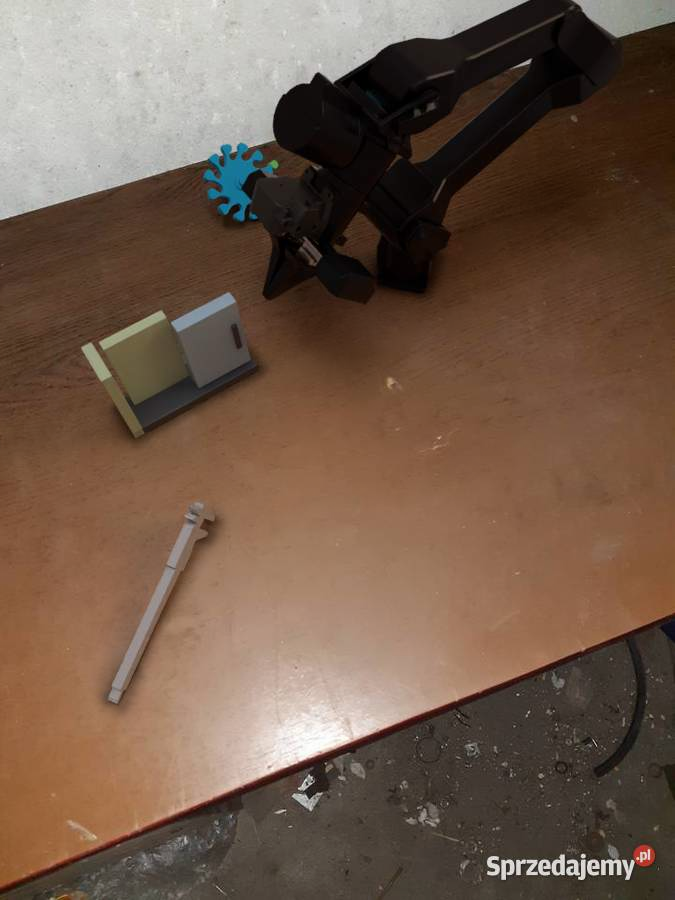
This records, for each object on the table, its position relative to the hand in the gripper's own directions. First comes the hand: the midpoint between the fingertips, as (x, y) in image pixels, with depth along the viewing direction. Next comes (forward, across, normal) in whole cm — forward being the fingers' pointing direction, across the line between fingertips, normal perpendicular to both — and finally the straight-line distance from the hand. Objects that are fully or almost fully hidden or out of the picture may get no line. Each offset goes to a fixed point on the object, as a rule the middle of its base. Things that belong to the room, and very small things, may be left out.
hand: (266, 297), depth 77 cm
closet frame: (+14, 0, -2) cm, 14 cm away
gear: (0, -22, +12) cm, 25 cm away
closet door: (+10, +1, 0) cm, 10 cm away
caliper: (+24, +22, -12) cm, 35 cm away
